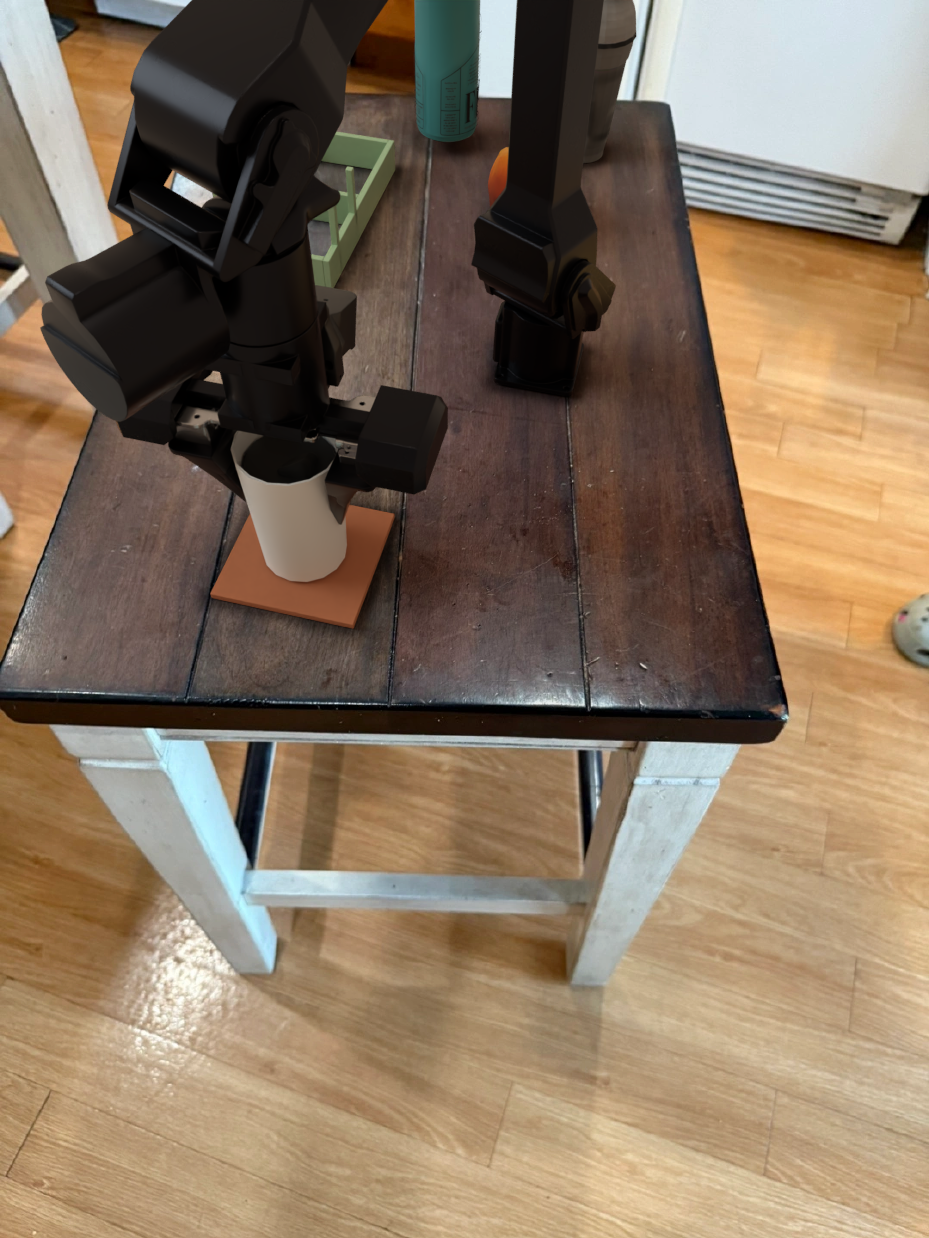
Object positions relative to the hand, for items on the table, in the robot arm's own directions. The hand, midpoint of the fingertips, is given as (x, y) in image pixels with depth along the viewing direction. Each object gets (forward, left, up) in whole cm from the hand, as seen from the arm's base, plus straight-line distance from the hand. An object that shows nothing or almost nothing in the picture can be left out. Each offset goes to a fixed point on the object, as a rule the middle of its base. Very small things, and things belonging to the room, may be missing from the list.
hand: (299, 510), depth 61 cm
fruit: (-7, -44, -5) cm, 45 cm away
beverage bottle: (+4, -56, -5) cm, 56 cm away
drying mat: (0, 0, -5) cm, 5 cm away
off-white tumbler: (0, 0, -4) cm, 4 cm away
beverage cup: (-10, -58, -5) cm, 59 cm away
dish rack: (+13, -39, -5) cm, 41 cm away
